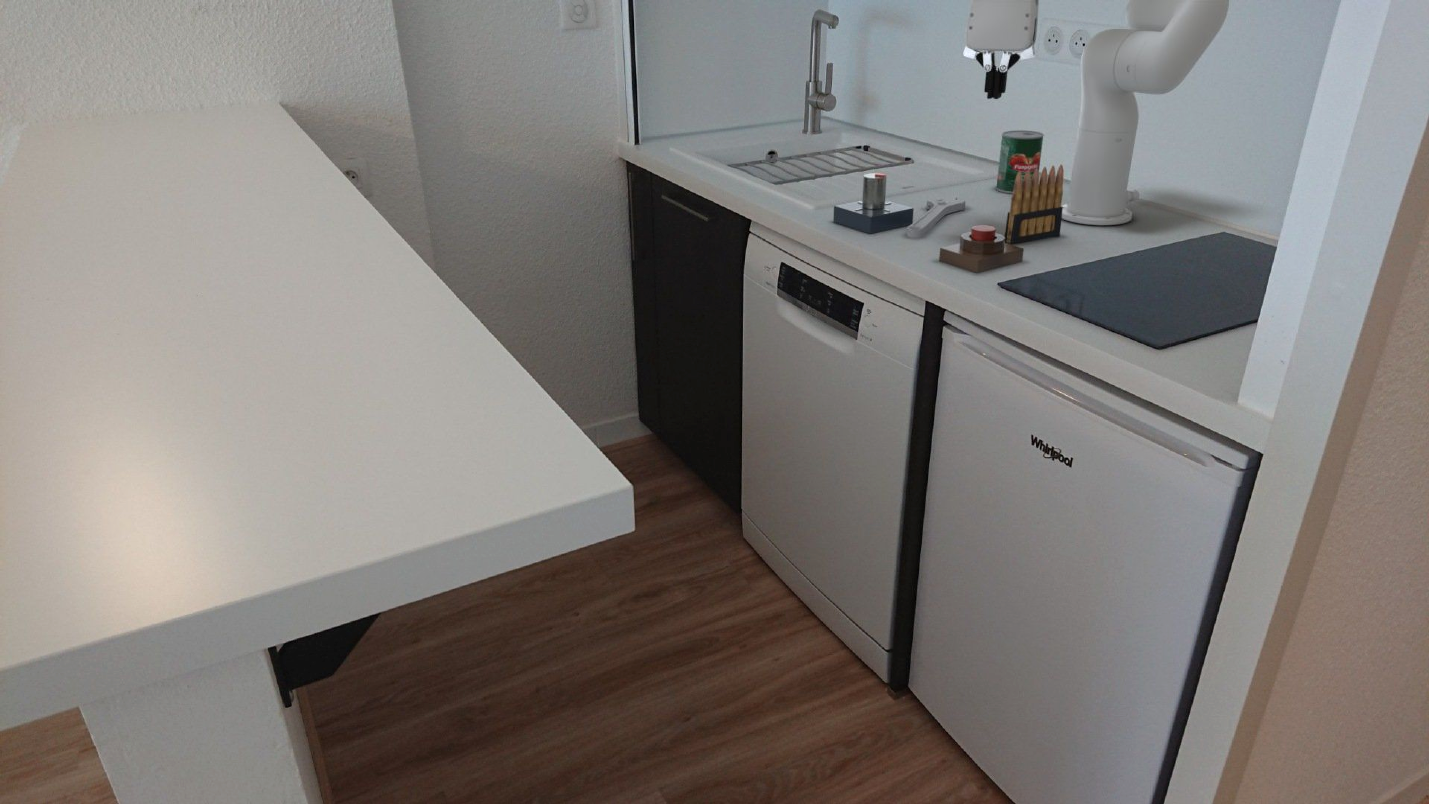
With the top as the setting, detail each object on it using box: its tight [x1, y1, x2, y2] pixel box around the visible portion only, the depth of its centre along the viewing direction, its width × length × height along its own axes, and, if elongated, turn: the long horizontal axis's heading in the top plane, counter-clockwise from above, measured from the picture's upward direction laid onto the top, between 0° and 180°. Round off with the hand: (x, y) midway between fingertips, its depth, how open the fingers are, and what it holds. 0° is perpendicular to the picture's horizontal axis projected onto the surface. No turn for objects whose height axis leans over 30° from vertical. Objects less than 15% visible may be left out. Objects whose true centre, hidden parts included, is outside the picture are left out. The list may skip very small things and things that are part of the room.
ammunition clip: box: [1003, 164, 1064, 246], centre depth 157 cm, size 11×2×12 cm, turn 116°
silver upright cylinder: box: [861, 172, 888, 209], centre depth 169 cm, size 4×4×6 cm
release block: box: [938, 231, 1025, 274], centre depth 148 cm, size 10×8×4 cm
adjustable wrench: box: [906, 196, 966, 239], centre depth 172 cm, size 25×6×2 cm, turn 148°
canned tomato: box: [995, 129, 1045, 195], centre depth 190 cm, size 8×8×11 cm
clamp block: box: [833, 199, 915, 235], centre depth 170 cm, size 10×10×3 cm
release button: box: [970, 224, 997, 241], centre depth 147 cm, size 4×4×2 cm
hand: (994, 97), depth 150 cm, fingers closed
